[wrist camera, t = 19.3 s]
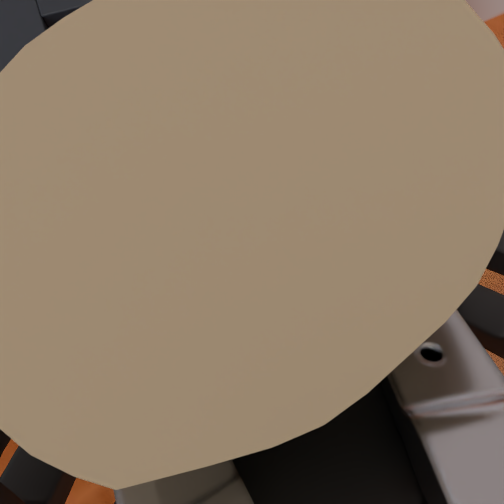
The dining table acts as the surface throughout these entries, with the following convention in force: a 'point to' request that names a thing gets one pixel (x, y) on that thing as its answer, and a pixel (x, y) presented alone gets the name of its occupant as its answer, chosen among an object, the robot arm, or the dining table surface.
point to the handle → (234, 219)
